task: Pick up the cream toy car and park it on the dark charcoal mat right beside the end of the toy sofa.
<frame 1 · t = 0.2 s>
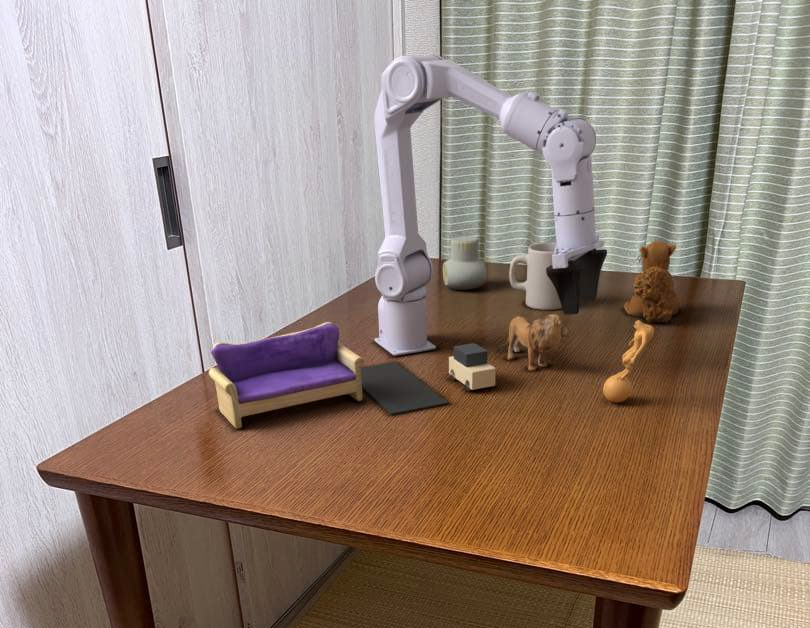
hand: (580, 307, 123), 10 cm above the table, tool pointing down, fingers open, 7 cm apart
toy sofa: (291, 407, 120), on the table
mug: (538, 305, 162), on the table
toy car: (471, 383, 126), on the table
figurine: (622, 403, 118), on the table
air freshener: (464, 288, 175), on the table
mat: (393, 387, 126), on the table
lion figurine: (530, 363, 134), on the table
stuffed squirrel: (652, 318, 153), on the table
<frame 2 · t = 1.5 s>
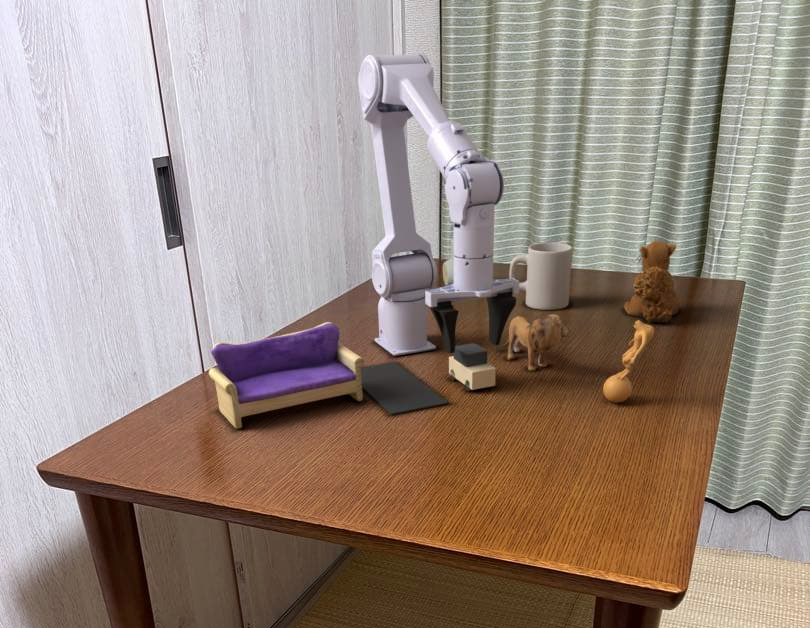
hand: (472, 347, 123), 6 cm above the table, tool pointing down, fingers open, 7 cm apart
nothing on the table moved.
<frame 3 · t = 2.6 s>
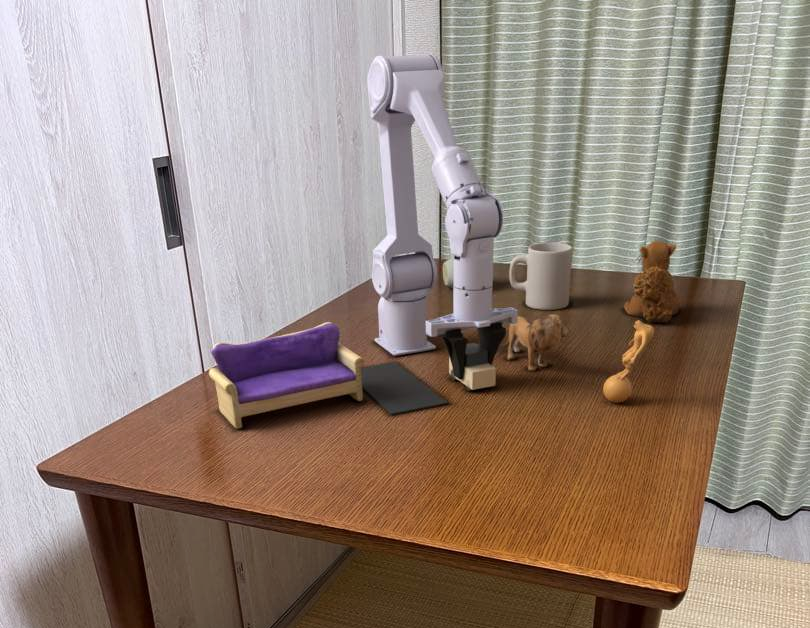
hand: (471, 374, 125), 1 cm above the table, tool pointing down, fingers closed on toy car, 4 cm apart
toy car: (471, 383, 126), on the table, touching gripper
everything else where it was.
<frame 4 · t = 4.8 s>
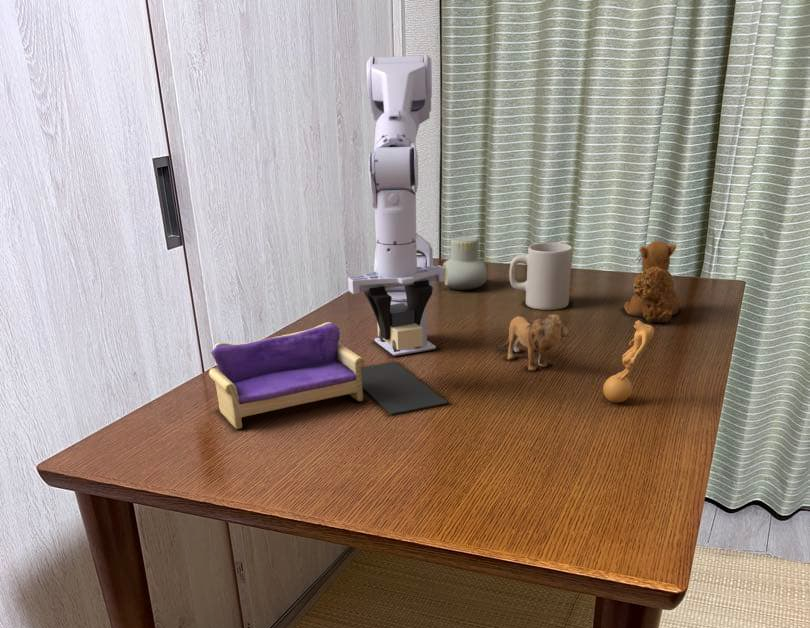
hand: (399, 335, 121), 8 cm above the table, tool pointing down, fingers closed on toy car, 4 cm apart
toy car: (400, 344, 122), point 7 cm above the table, touching gripper
everything else where it was.
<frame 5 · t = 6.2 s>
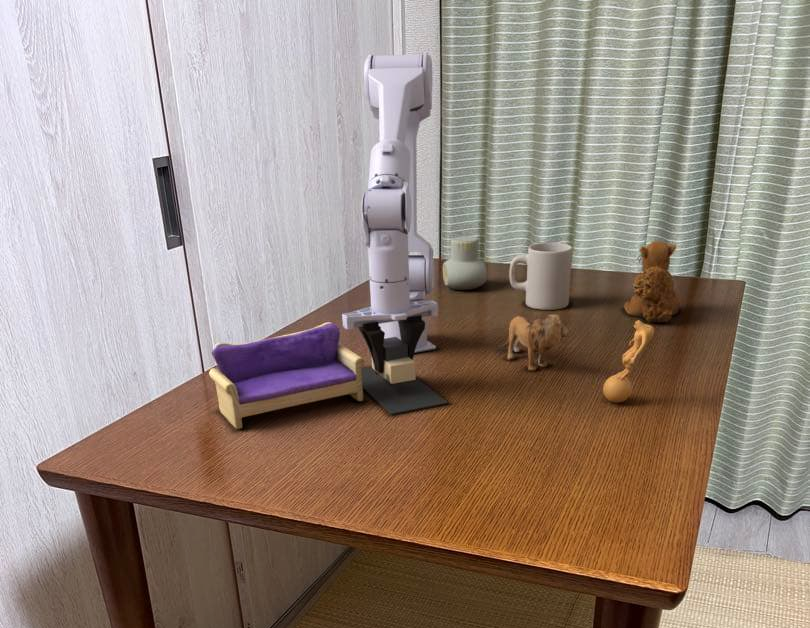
hand: (392, 368, 124), 3 cm above the table, tool pointing down, fingers closed on toy car, 4 cm apart
toy car: (393, 377, 125), point 2 cm above the table, touching gripper
everything else where it was.
when the fingers open (2 cm above the table, at t = 7.1 s): toy car stays where it is, resting on mat.
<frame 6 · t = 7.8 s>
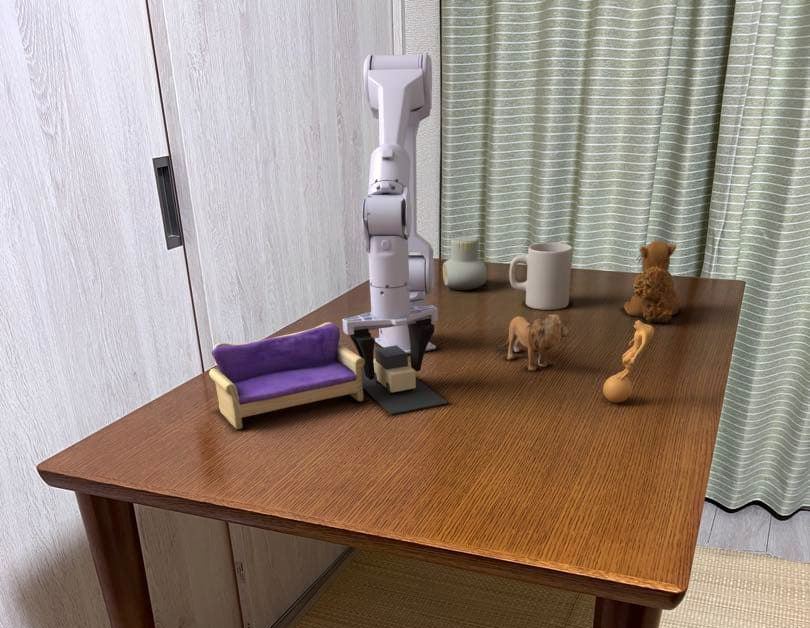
hand: (393, 373, 124), 2 cm above the table, tool pointing down, fingers open, 7 cm apart
toy car: (393, 385, 125), resting on mat
everything else where it was.
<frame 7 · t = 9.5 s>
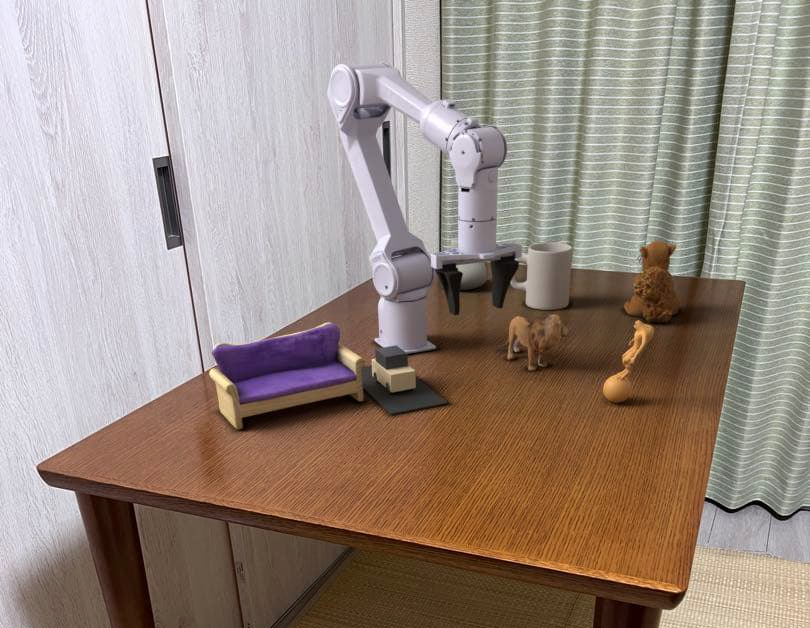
hand: (476, 310, 127), 9 cm above the table, tool pointing down, fingers open, 7 cm apart
nothing on the table moved.
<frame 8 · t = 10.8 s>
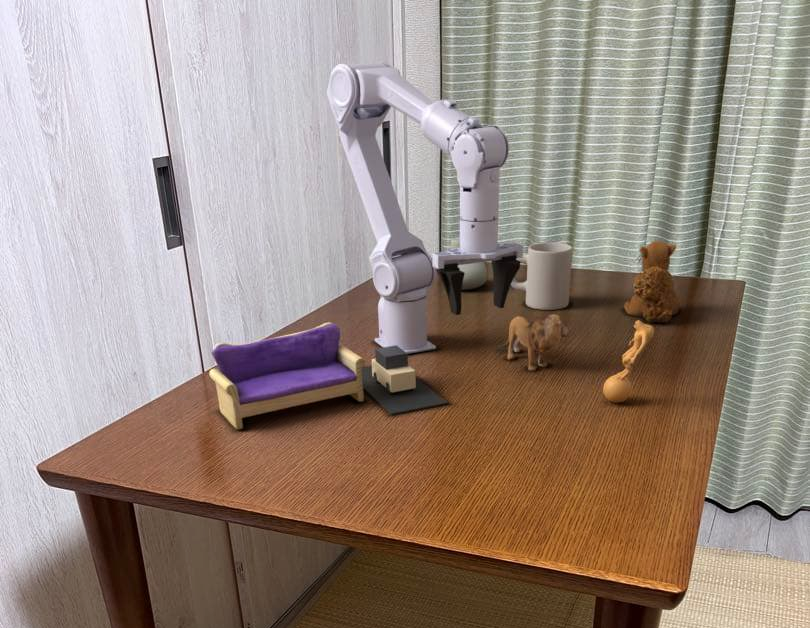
hand: (477, 309, 127), 9 cm above the table, tool pointing down, fingers open, 7 cm apart
nothing on the table moved.
at the end: toy car inside the target area on the table beside the toy sofa (0.3 cm from its centre), point 0.5 cm above the table; toy car tilted 0°; toy sofa moved 0.4 cm from its start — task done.
